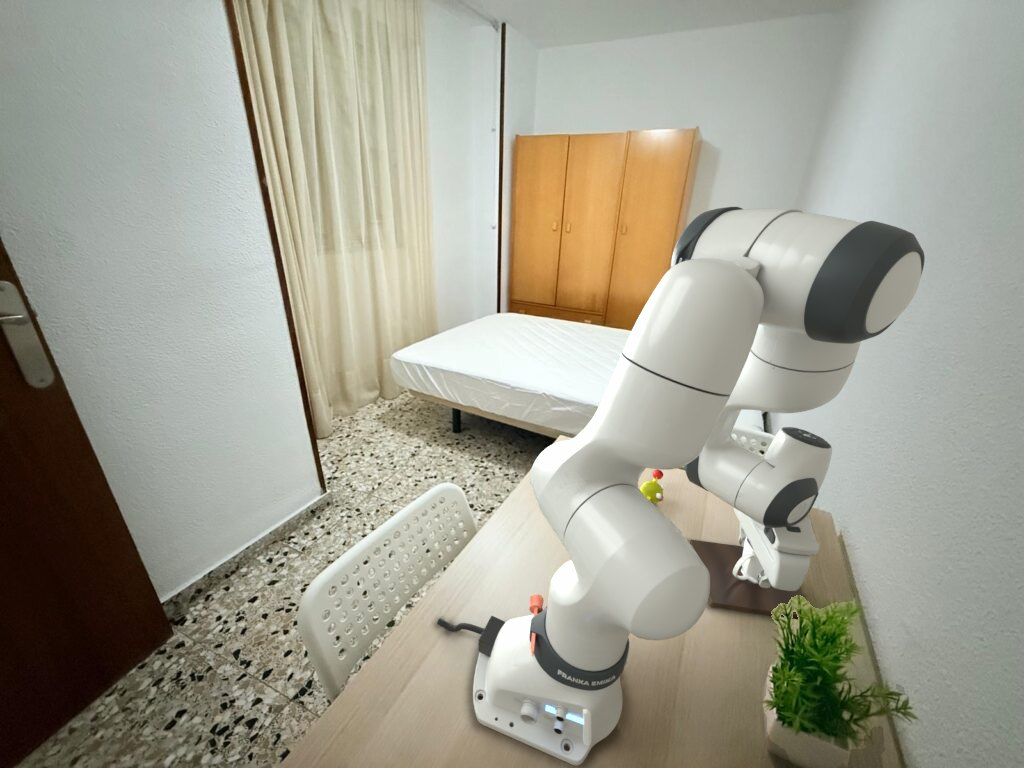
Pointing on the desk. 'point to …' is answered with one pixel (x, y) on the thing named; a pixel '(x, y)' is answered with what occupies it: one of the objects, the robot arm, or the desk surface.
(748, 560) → the cup
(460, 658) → the desk surface
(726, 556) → the walnut board
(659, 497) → the toy figure
